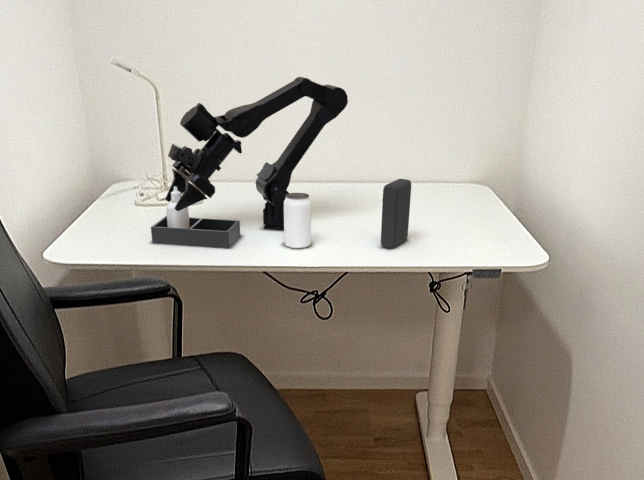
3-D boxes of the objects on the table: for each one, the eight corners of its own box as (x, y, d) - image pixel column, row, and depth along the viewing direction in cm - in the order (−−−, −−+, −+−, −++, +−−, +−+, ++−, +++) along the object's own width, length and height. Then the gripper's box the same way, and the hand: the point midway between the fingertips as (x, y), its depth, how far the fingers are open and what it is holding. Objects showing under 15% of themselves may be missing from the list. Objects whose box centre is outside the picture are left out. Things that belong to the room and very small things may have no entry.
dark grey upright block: (394, 237, 187) (398, 177, 179) (409, 240, 185) (413, 179, 178) (378, 247, 180) (381, 184, 172) (393, 249, 178) (396, 186, 171)
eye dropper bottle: (192, 236, 183) (188, 187, 177) (169, 239, 181) (165, 189, 175) (188, 231, 186) (185, 183, 180) (166, 234, 184) (161, 185, 179)
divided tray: (166, 231, 189) (165, 215, 187) (240, 236, 186) (239, 220, 184) (152, 243, 180) (150, 227, 178) (229, 248, 178) (228, 232, 176)
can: (301, 250, 177) (301, 200, 171) (279, 246, 180) (278, 196, 174) (315, 243, 181) (316, 194, 176) (294, 239, 184) (293, 190, 178)
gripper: (177, 125, 180) (137, 175, 182) (198, 138, 166) (154, 192, 167) (210, 156, 187) (171, 203, 189) (233, 171, 172) (191, 223, 174)
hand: (171, 205), depth 179 cm, fingers open, 9 cm apart
